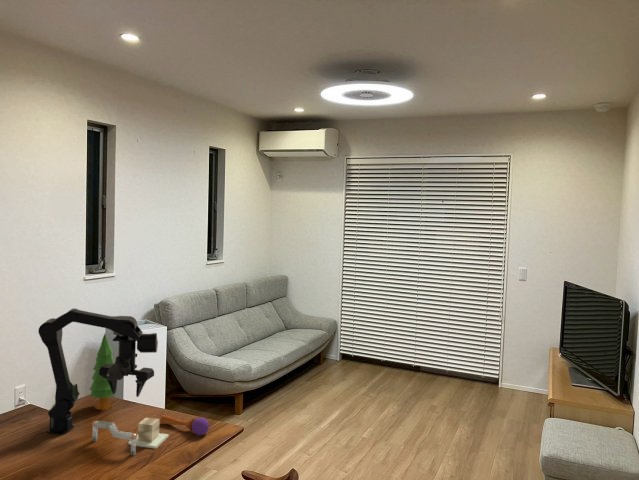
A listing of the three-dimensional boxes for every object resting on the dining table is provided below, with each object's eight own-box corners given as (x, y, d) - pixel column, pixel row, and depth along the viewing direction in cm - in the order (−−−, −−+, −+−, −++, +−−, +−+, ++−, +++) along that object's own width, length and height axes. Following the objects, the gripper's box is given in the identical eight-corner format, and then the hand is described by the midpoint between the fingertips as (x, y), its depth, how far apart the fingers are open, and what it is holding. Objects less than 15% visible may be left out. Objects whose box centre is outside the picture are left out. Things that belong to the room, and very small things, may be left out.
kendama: (169, 409, 191) (213, 417, 183) (168, 426, 190) (211, 434, 182) (158, 412, 186) (202, 420, 177) (156, 429, 185) (201, 438, 176)
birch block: (138, 440, 172) (138, 423, 172) (145, 434, 177) (146, 417, 176) (151, 442, 171) (152, 425, 171) (159, 435, 176) (159, 419, 176)
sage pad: (128, 444, 170) (128, 442, 170) (142, 432, 179) (142, 430, 179) (155, 448, 169) (155, 446, 169) (168, 436, 178) (168, 434, 178)
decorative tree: (98, 413, 193) (99, 336, 191) (84, 407, 198) (85, 331, 196) (120, 405, 201) (122, 331, 199) (106, 399, 207) (107, 327, 204)
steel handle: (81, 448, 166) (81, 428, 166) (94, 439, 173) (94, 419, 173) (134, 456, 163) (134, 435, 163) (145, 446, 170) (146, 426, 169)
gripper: (89, 356, 175) (88, 400, 176) (139, 362, 171) (138, 406, 173) (108, 347, 186) (107, 389, 187) (155, 352, 182) (154, 395, 184)
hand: (125, 395), depth 182 cm, fingers open, 9 cm apart
